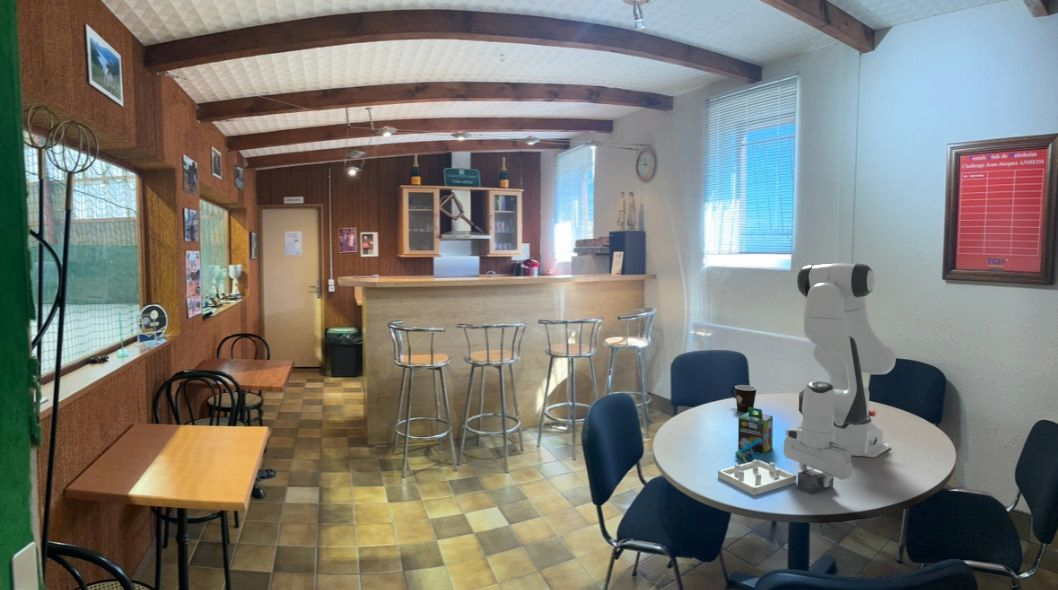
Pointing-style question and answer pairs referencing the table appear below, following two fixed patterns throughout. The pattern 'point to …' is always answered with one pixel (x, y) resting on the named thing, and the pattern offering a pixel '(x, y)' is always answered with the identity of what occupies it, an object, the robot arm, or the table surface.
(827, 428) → the robot arm
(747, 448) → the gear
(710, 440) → the table surface
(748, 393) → the coffee mug
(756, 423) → the chalk box
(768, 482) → the holder tray
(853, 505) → the table surface
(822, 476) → the block
